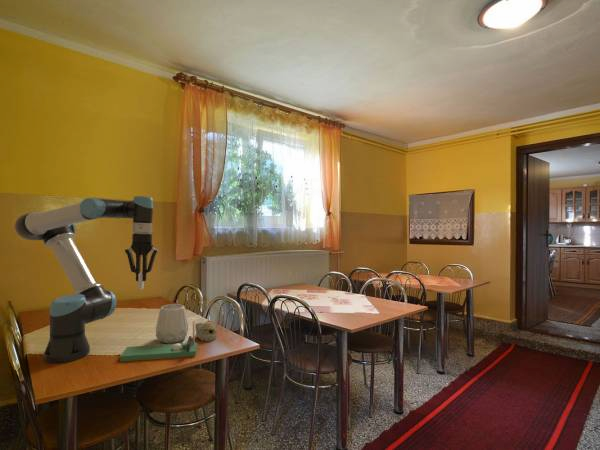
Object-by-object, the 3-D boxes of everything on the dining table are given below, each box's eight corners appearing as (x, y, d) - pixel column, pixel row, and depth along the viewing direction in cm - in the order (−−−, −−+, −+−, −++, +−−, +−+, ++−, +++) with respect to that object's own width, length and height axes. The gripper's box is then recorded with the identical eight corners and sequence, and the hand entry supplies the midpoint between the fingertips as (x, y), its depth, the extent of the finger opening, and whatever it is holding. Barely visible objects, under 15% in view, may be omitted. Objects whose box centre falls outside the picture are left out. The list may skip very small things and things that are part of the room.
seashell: (215, 340, 153) (205, 320, 153) (197, 349, 154) (187, 329, 154) (223, 332, 163) (213, 313, 163) (206, 340, 164) (197, 321, 164)
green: (120, 361, 130) (120, 330, 130) (127, 351, 140) (127, 322, 140) (195, 356, 136) (195, 326, 136) (197, 347, 146) (197, 319, 146)
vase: (168, 347, 146) (169, 312, 145) (148, 340, 153) (149, 307, 153) (194, 338, 157) (195, 305, 157) (175, 332, 165) (175, 301, 165)
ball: (169, 350, 137) (176, 343, 137) (170, 346, 140) (177, 339, 141) (176, 357, 137) (183, 349, 138) (177, 353, 141) (184, 346, 142)
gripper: (122, 232, 137) (121, 290, 137) (156, 233, 139) (155, 290, 140) (128, 232, 144) (127, 287, 145) (160, 233, 147) (159, 287, 147)
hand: (140, 288), depth 142 cm, fingers closed
